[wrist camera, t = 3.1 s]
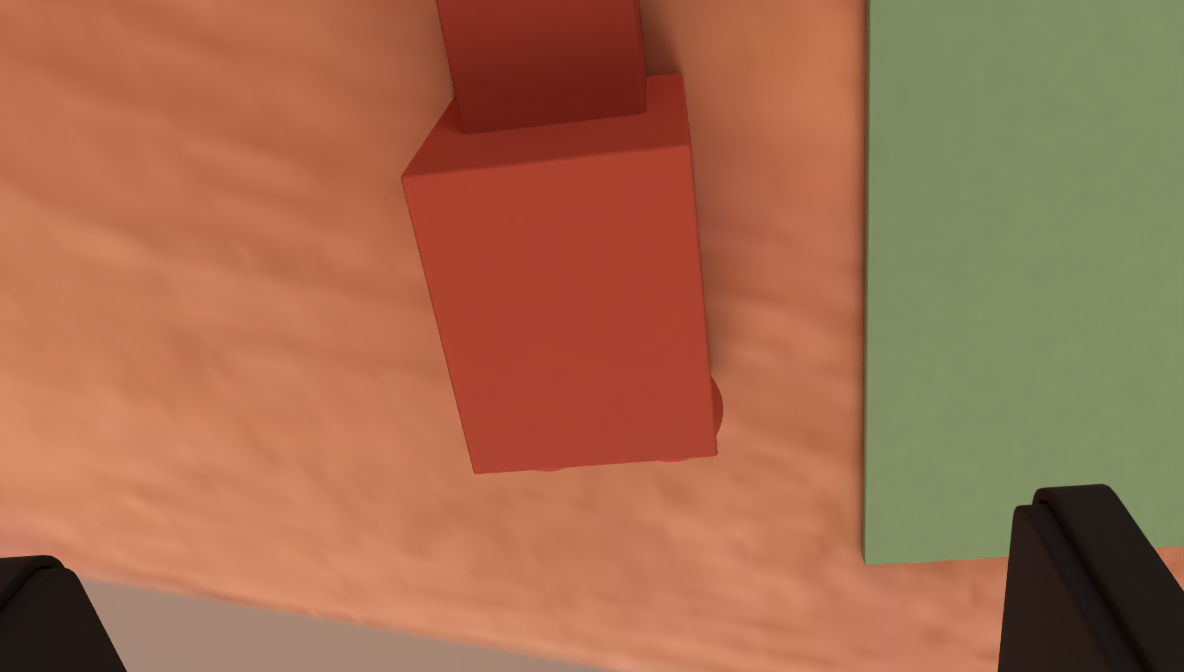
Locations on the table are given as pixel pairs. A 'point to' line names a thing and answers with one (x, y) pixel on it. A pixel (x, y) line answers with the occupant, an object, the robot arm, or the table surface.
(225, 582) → the table surface
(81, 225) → the table surface
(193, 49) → the table surface
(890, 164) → the green cloth
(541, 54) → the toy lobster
